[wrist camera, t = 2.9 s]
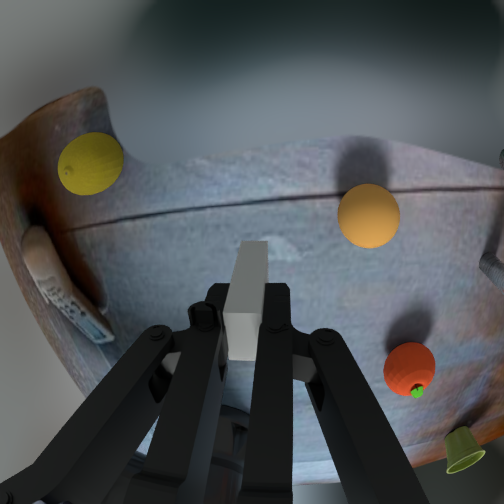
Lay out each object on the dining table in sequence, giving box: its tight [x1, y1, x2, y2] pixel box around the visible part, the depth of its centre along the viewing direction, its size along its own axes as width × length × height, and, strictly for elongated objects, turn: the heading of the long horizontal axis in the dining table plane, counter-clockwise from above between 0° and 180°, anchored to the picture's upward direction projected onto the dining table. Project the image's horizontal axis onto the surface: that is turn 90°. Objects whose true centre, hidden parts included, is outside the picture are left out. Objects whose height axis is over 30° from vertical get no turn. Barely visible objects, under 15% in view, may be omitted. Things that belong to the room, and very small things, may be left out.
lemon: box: [58, 132, 123, 195], centre depth 24 cm, size 6×6×8 cm
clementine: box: [383, 342, 435, 398], centre depth 33 cm, size 8×7×7 cm
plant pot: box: [445, 426, 485, 473], centre depth 43 cm, size 9×9×9 cm
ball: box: [338, 184, 400, 248], centre depth 25 cm, size 6×6×6 cm
